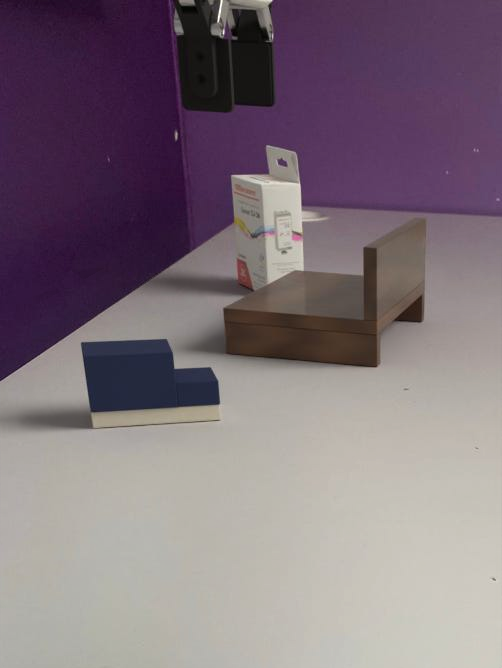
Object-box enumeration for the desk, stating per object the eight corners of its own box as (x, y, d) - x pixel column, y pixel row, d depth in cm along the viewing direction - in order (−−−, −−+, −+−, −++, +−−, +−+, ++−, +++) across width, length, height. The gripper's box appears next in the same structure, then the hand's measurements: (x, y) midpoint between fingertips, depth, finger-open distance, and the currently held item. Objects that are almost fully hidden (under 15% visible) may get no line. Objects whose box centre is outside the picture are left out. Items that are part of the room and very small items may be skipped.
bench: (226, 353, 93) (217, 235, 89) (296, 309, 111) (292, 208, 106) (377, 367, 92) (376, 248, 87) (424, 319, 109) (426, 218, 104)
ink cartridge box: (235, 283, 121) (226, 144, 114) (274, 280, 123) (268, 144, 116) (266, 297, 115) (258, 151, 108) (306, 294, 117) (301, 151, 110)
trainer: (93, 429, 74) (82, 355, 71) (90, 412, 77) (80, 341, 74) (221, 421, 77) (216, 350, 74) (214, 405, 80) (208, 337, 77)
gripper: (199, -191, 68) (217, 100, 77) (89, -263, 53) (126, 110, 62) (311, -186, 68) (317, 107, 76) (231, -256, 53) (250, 118, 61)
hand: (232, 108), depth 69 cm, fingers open, 9 cm apart
